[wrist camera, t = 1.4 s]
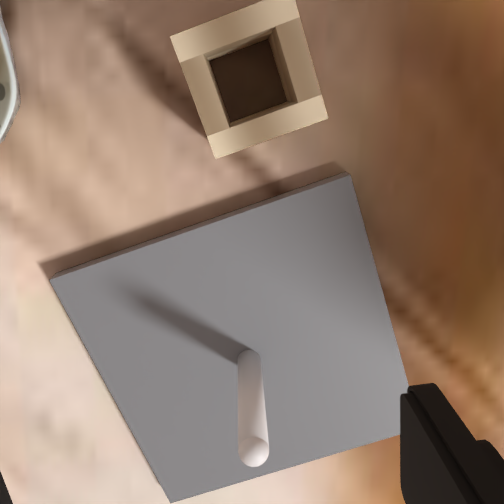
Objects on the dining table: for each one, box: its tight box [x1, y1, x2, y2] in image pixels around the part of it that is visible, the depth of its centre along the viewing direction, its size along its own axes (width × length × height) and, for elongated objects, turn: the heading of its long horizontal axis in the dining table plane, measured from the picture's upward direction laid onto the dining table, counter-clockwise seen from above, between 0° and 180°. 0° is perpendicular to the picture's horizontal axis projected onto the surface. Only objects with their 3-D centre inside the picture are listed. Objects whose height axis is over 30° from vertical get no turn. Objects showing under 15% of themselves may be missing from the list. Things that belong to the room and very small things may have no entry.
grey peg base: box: [49, 172, 409, 503], centre depth 28 cm, size 20×20×10 cm
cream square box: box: [170, 0, 328, 159], centre depth 24 cm, size 6×6×5 cm
